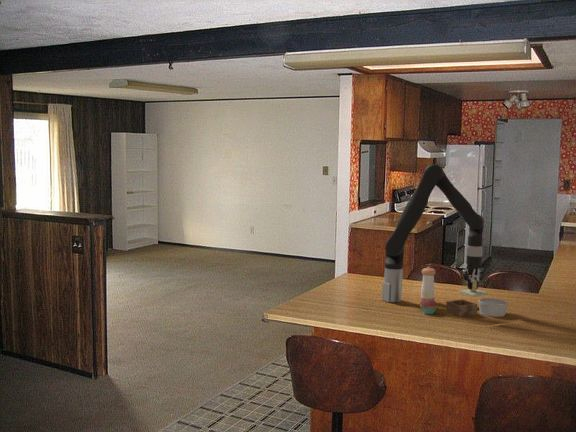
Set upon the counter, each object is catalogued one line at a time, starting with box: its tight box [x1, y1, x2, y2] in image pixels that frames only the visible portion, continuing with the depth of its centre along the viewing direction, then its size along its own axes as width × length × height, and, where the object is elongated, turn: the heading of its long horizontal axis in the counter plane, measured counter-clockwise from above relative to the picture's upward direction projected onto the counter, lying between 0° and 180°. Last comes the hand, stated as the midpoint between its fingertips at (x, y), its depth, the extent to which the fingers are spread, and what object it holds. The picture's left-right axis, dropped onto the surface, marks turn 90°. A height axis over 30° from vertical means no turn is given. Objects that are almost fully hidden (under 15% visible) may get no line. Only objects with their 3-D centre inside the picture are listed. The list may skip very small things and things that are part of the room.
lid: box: [458, 279, 489, 298], centre depth 303 cm, size 10×10×6 cm
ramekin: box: [478, 297, 509, 318], centre depth 292 cm, size 13×13×7 cm
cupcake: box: [419, 291, 439, 315], centre depth 291 cm, size 9×8×12 cm
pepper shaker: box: [419, 266, 437, 304], centre depth 311 cm, size 7×7×19 cm
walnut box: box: [445, 298, 478, 318], centre depth 291 cm, size 10×10×6 cm
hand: (472, 288), depth 304 cm, fingers closed on lid, 3 cm apart
